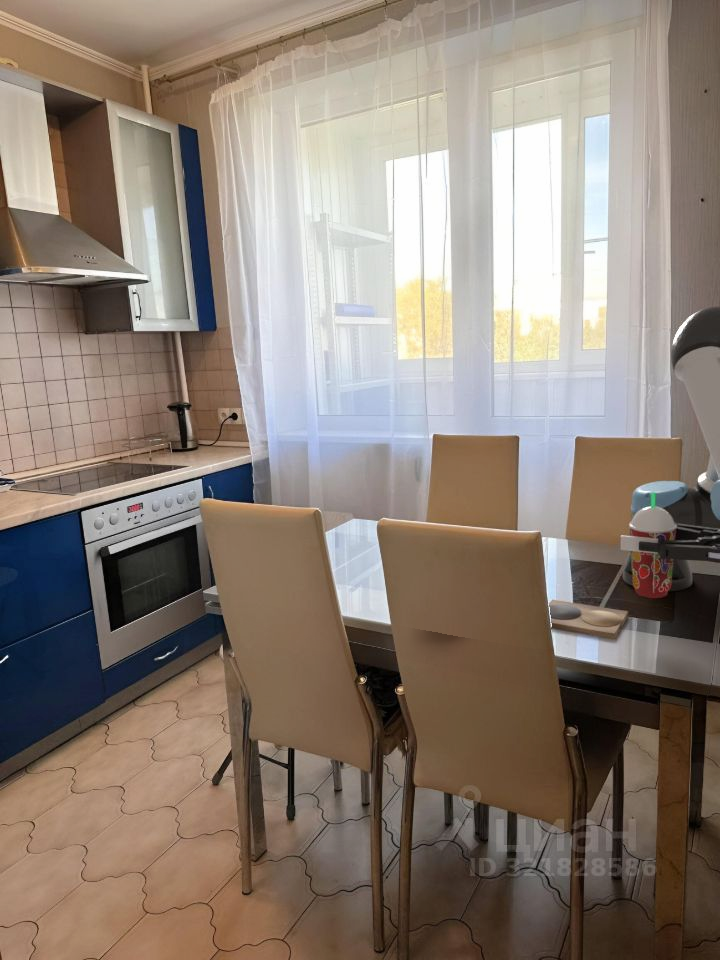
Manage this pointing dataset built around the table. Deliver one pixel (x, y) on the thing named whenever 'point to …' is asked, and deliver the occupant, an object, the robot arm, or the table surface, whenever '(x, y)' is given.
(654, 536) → the smoothie
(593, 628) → the coaster board
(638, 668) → the table surface
